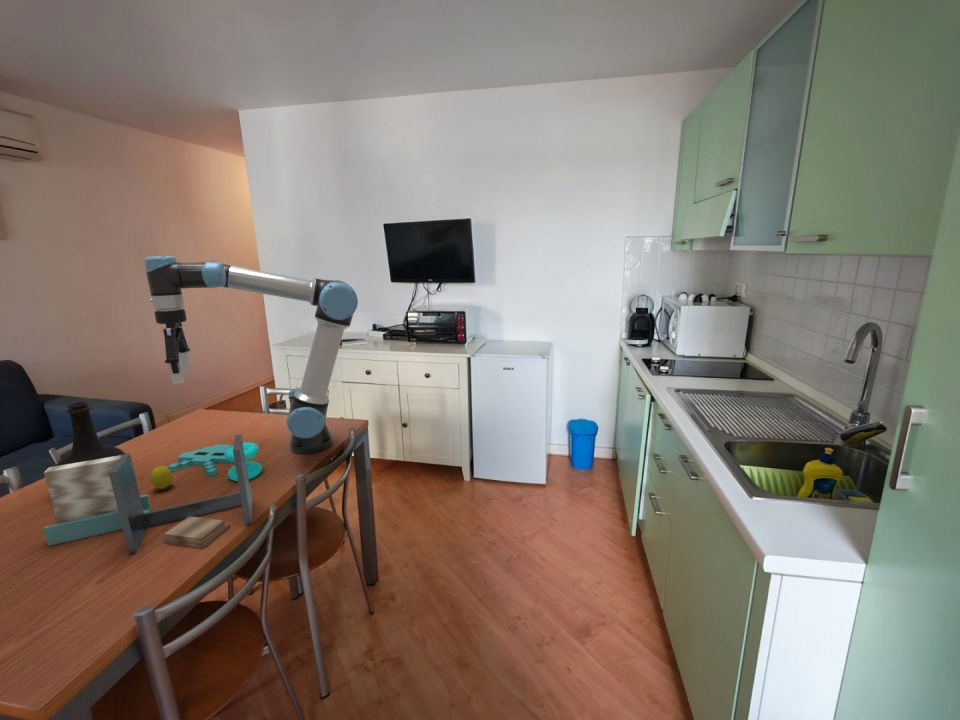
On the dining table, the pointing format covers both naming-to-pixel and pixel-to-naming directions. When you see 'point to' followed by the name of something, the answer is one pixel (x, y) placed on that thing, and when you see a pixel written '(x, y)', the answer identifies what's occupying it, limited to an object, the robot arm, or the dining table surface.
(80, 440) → the glass bottle
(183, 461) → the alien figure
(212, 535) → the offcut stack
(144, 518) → the rack
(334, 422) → the dining table surface
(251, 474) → the turquoise spool
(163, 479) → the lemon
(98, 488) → the birch sheet
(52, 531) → the teal open channel
